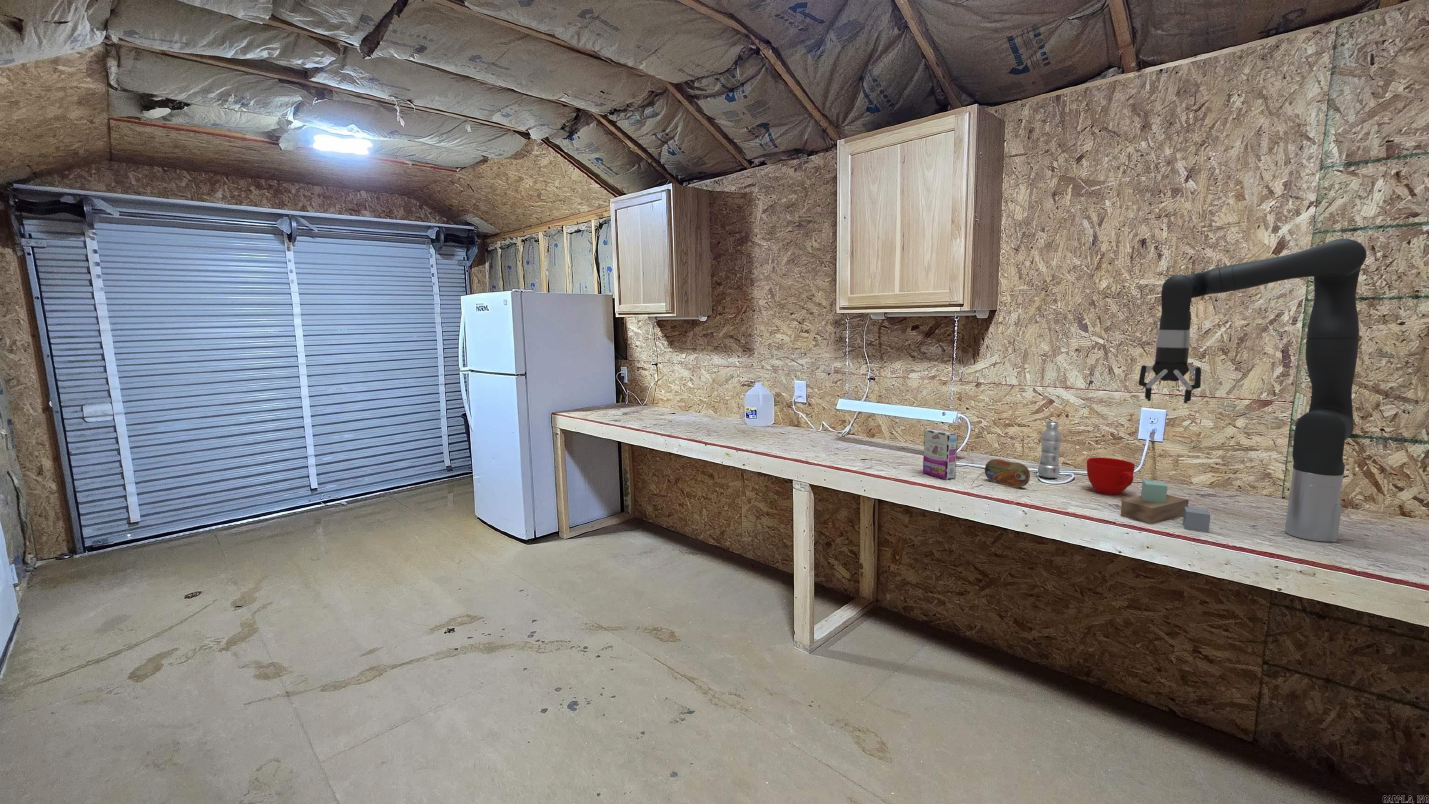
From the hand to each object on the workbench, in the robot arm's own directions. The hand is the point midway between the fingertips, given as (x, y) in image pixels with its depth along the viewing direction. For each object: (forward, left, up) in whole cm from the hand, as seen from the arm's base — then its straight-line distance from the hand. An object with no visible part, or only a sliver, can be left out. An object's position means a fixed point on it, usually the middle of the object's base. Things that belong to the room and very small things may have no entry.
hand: (1166, 401), depth 174 cm
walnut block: (+1, +8, -33) cm, 34 cm away
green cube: (+1, +8, -28) cm, 29 cm away
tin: (+41, -4, -32) cm, 52 cm away
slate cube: (-8, +15, -32) cm, 36 cm away
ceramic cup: (+11, -11, -32) cm, 36 cm away
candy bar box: (+63, -3, -32) cm, 71 cm away
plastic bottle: (+30, -22, -32) cm, 49 cm away
